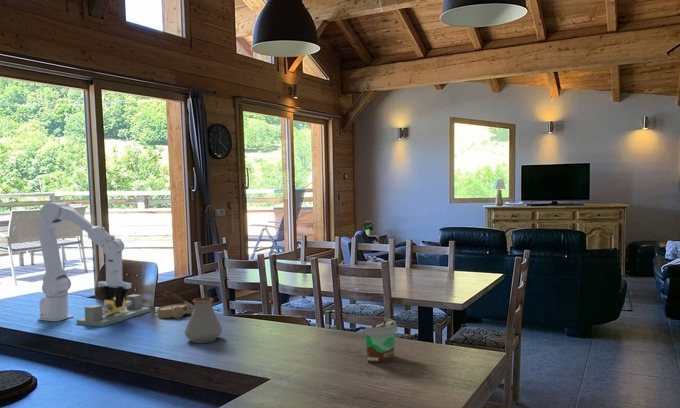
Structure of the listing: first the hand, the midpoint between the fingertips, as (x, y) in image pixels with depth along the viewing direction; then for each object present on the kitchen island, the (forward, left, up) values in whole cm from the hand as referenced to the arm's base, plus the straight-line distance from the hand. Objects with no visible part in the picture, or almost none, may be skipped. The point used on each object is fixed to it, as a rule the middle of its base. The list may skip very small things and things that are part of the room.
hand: (114, 306), depth 190 cm
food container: (+110, -15, -4) cm, 111 cm away
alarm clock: (+20, +10, -5) cm, 23 cm away
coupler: (0, 0, -2) cm, 2 cm away
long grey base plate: (0, 0, -4) cm, 4 cm away
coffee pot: (+45, -14, -4) cm, 47 cm away
